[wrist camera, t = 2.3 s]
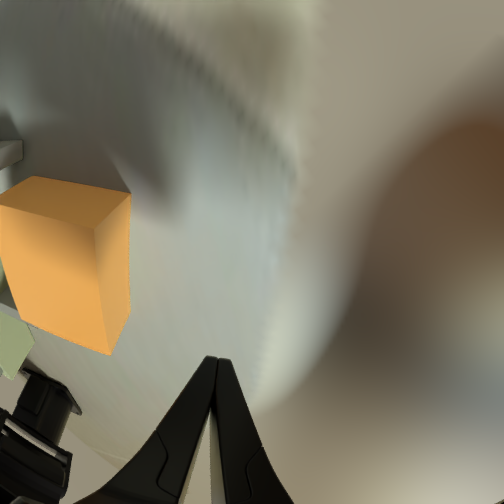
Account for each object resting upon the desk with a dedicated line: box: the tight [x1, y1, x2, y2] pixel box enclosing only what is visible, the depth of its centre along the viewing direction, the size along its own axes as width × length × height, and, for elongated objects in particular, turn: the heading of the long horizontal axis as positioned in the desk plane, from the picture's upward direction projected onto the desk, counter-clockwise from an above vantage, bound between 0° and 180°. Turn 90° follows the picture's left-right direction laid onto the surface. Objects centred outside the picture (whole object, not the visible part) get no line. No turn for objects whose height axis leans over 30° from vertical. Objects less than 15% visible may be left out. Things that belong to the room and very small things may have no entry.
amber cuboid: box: [0, 176, 131, 356], centre depth 11 cm, size 7×6×4 cm
